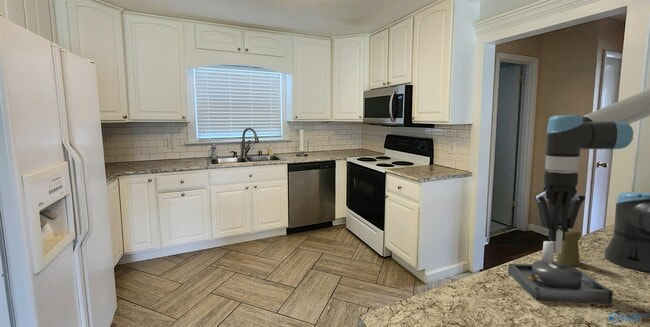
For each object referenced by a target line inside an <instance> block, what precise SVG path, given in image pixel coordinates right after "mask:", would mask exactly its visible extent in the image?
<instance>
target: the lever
mask: <svg viewBox="0 0 650 327" xmlns="http://www.w3.org/2000/svg"><path fill="white" fill-rule="evenodd" d="M554 255H555V253H554V243H553V242H550V240H549V241H548V240H545V241H543V245H542V255H541V256H542V258H541V260H535V261H533V263H532V264H533V266H532V276H533V277H534V278H535V279H536V280H537V281H539V282H541V283H543V284H546V285H549V286H552V287H556V288H571V289H578V288H580V287H581V281H582V273H581V272H580V271H581V270H580V269H579V268H577V267H575V266H574V267H575V268H574V267H572V266H570V265H567V264H563V263H560V262H558V261H554V257H555V256H554ZM576 268H577V269H576ZM578 269H579V270H580V271H579V270H578Z"/></svg>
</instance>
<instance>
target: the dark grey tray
mask: <svg viewBox="0 0 650 327" xmlns="http://www.w3.org/2000/svg"><path fill="white" fill-rule="evenodd" d="M532 266H533V263H531V264H530V263H508V268H507V271H508V273H507V274H509V275H510V276H511V277H512V278H513V279H514V280H515V281H516V282H517V283H518V284H519V285H520V286H521V287H522V288H523V289H524V290H525V291H526V292H527V293H528V294H529V295H530V296H531V297H532V298H533V299H534V300H535V301H547V302H548V301H551V302H552V301H553V302H572V303H573V302H575V303H576V302H577V303H578V302H579V303H598V304H601V303H602V304H612V303H613V295H614V294H613V291H612V290H611V289H610V288H608V287H606V286H605V285H604V284H601V283H600V282H598V281H597V280H595V279H594V278H593V277H591V276H589V275H588V274H586V273H585V272H583V271H581V270H580V269H579V268H577V267H576V266H572V265H570V266H572V267H574V268H576V269H578V270H579V271H580V272H581V273H582V281H581V287H580V288H578V289H571V288H556V287H552V286H549V285H546V284H543V283H541V282H539V281H537V280H536V279H535V278H534V277H533V276H532Z"/></svg>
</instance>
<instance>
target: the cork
mask: <svg viewBox="0 0 650 327" xmlns="http://www.w3.org/2000/svg"><path fill="white" fill-rule="evenodd" d="M568 230H569V231H568V232H565V239H564V241H562V248H561V254H557V257H556V260H557V261H556V262H560V263H563V264H567V265H572V266H574V267H577V266H580V265H581V261H580V250H579V241H580V239H581V233H580V231H579V230H577V229H574V228H572V229H570V228H569V229H568Z"/></svg>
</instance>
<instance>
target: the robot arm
mask: <svg viewBox="0 0 650 327" xmlns="http://www.w3.org/2000/svg"><path fill="white" fill-rule="evenodd" d="M648 117H650V88H648V89H646V90H644V91H641V92H638V93H636V94H633V95H631V96H629V97H627V98H624V99H621V100H619V101H617V102H615V103H612V104H609V105H607V106H604V107H602V108H600V109H597V110H595V111H592V112H590V113H586V114H585V115H580V114H566V115H565V114H563V115H562V114H561V115H552V116H550V117H549V119H548V123H547V127H546V128H547V130H546V148H545V149H546V150H545V152H546V153H545V164H544V165H545V167H544V168H545V171H544V175H543V176H544V177H543V183H544V187H543V189H542V192H541V193H539V194H534V196H533V199H534V200H535V201H536V203H537V204H536V205H537V207H538V212H539V218H540V224H541V226H542V227H543V228H546V229H547V230H548V236H547V239H548V240H549V241H550V242H553V243H554V254H557V255H558V254H561V248H562V241H564V239H565V232H568V231H569V230H568V229H569V228H570V229H574V225H575V224H576V220H577V218H578V214H579V212H580V208H581V207H582V206H581V205H582V203H583V202H584V201H585V200H586V196H585V195H581V194H580V193H578V192H577V191H578V189H577V188H576V187H577V186H578V181H579V173H578V171H579V170H580V157H581V150H611V151H612V150H621V149H624V148H626V147H628V146H629V145H630V144H631V143H632V141H633V140H634V130H633V127H632V126H631V125H630V124H634V123H636V122H638V121H640V120H643V119H646V118H648ZM613 228H614V229H613V235H612V237H611V239H610V240H609V243H608V244H607V246H606V247H605V248H604V258H606V259H607V260H608V261H610V262H612V263H614V264H616V265H619V266H622V267H625V268H629V269H633V270H638V271H640V272H641V271H642V272H649V273H650V192H649V191H648V192H646V191H645V192H644V191H623V192H620V193H619V194H618V195H617V198H616V202H615V213H614V227H613Z"/></svg>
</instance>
